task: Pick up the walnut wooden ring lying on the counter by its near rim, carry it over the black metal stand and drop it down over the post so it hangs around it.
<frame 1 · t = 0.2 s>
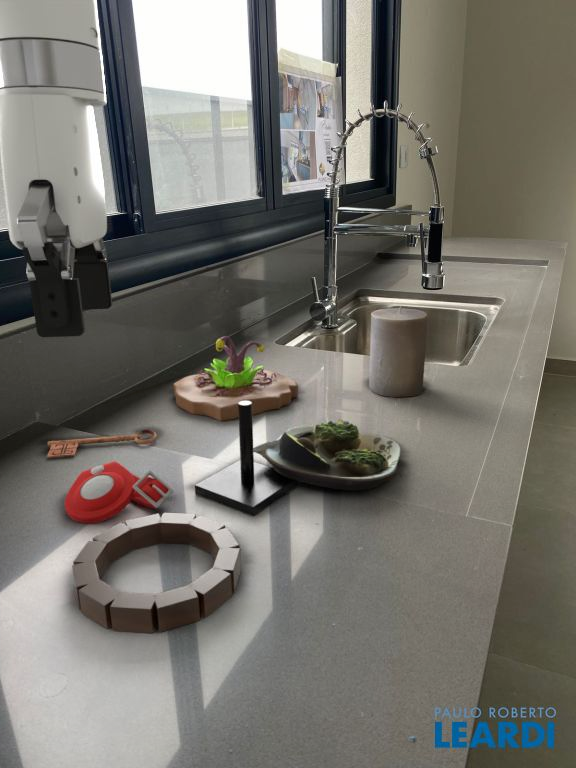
hand: (79, 320, 48), 25 cm above the counter, tool pointing down, fingers open, 9 cm apart
stand: (248, 489, 73), on the counter
ring: (160, 576, 57), on the counter
plant: (233, 398, 105), on the counter
pillar candle: (395, 389, 108), on the counter
key: (102, 446, 86), on the counter
tracker holder: (117, 508, 70), on the counter
salad plate: (330, 463, 79), point 1 cm above the counter, touching stand
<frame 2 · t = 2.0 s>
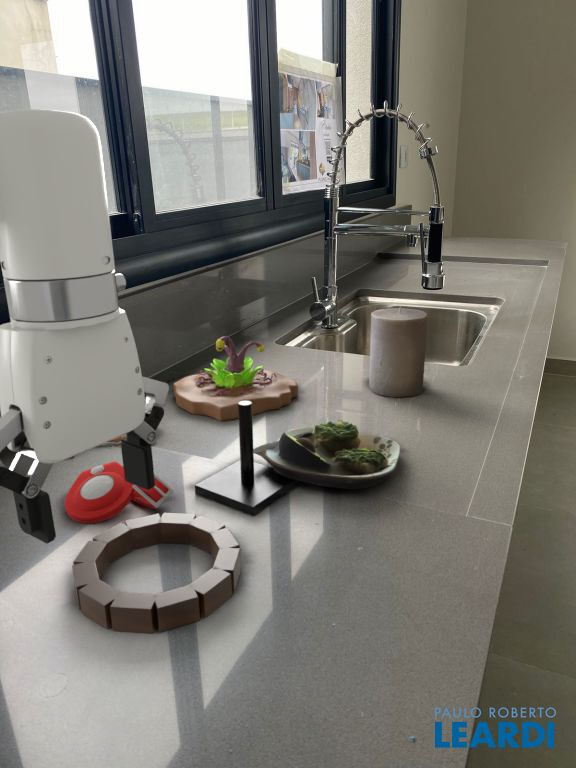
hand: (93, 508, 49), 10 cm above the counter, tool pointing down, fingers open, 9 cm apart
nothing on the counter moved.
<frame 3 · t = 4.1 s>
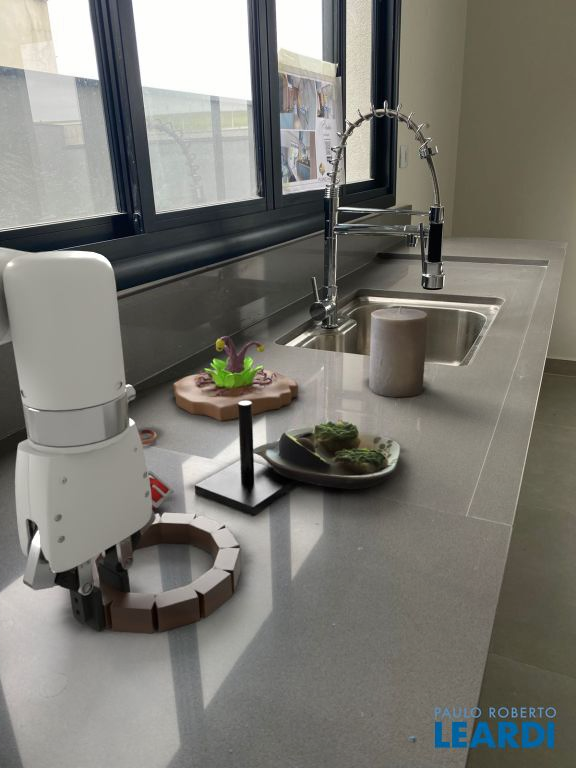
hand: (103, 613, 52), 0 cm above the counter, tool pointing down, fingers closed on ring, 2 cm apart
ring: (160, 576, 57), on the counter, touching gripper
everything else where it was.
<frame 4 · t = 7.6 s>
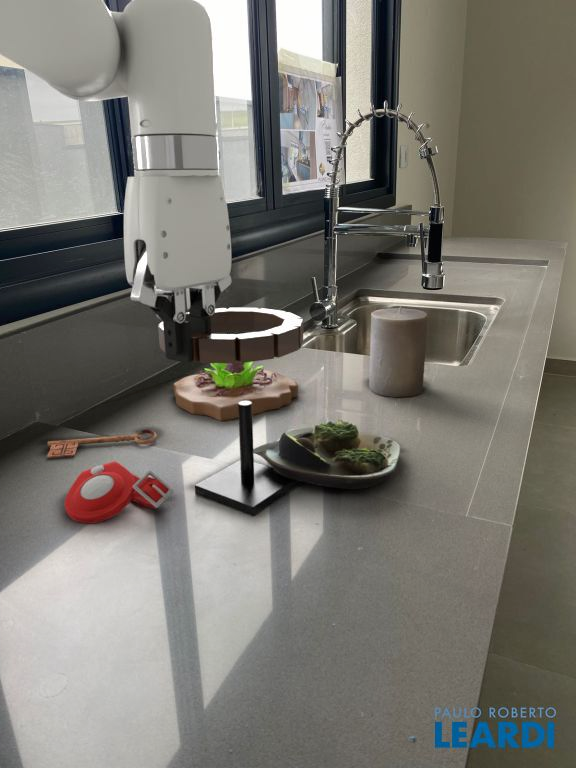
hand: (189, 355, 60), 19 cm above the counter, tool pointing down, fingers closed on ring
ring: (232, 343, 65), point 19 cm above the counter, touching gripper
everything else where it was.
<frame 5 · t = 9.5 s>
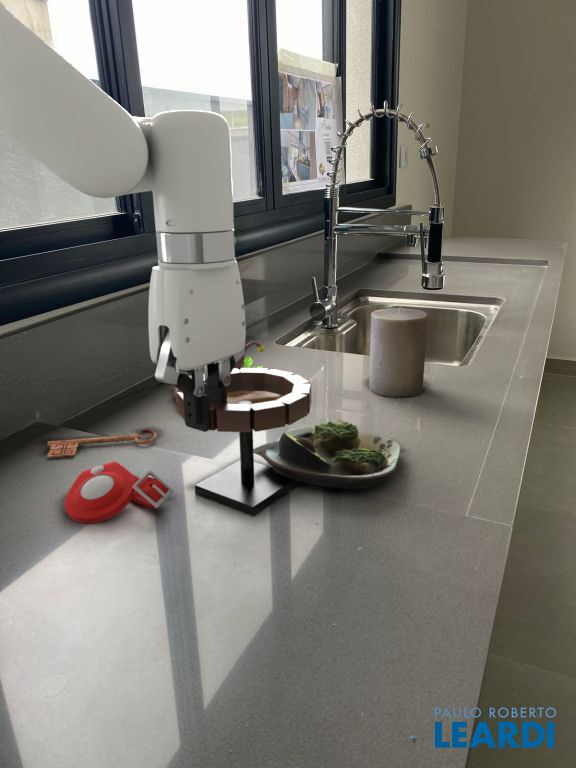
hand: (206, 423, 65), 11 cm above the counter, tool pointing down, fingers closed on ring
ring: (245, 406, 70), point 11 cm above the counter, touching gripper
everything else where it was.
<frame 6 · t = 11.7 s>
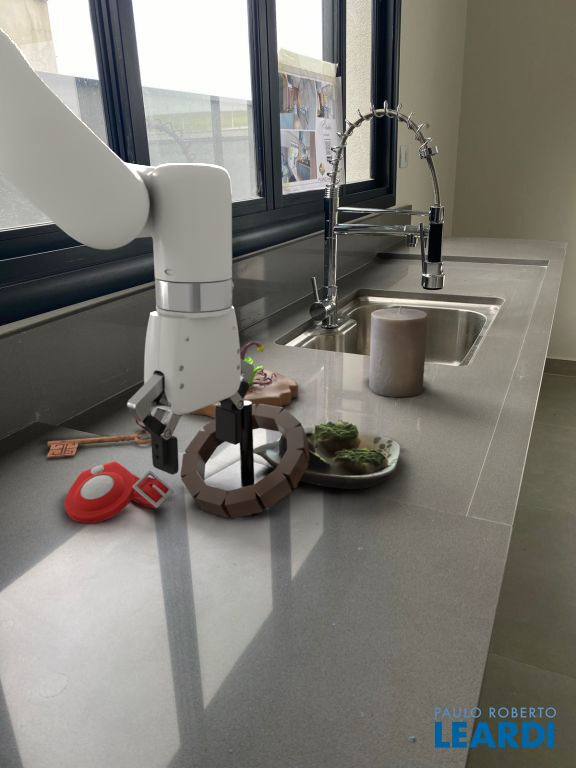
hand: (198, 454, 65), 8 cm above the counter, tool pointing down, fingers open, 9 cm apart
ring: (248, 463, 72), point 4 cm above the counter, tilted 28°, touching salad plate, stand
salad plate: (330, 463, 79), point 1 cm above the counter, touching ring, stand
everything else where it was.
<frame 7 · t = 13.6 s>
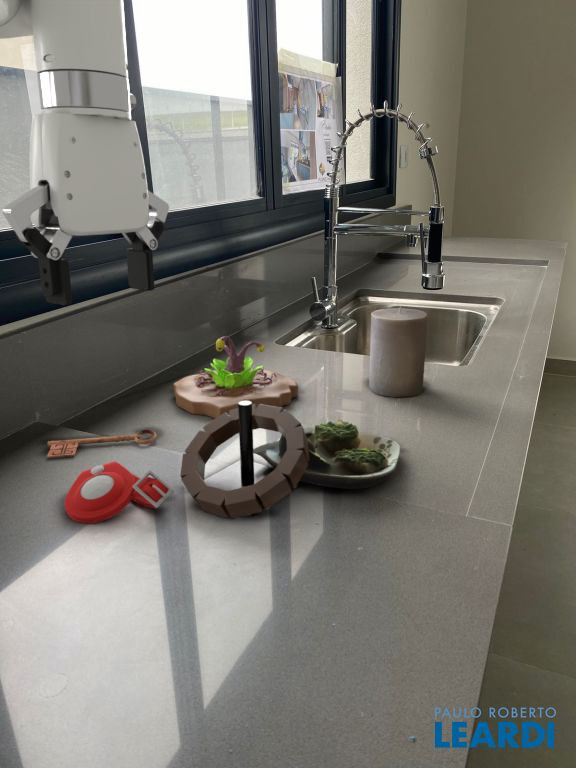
hand: (103, 295, 58), 25 cm above the counter, tool pointing down, fingers open, 9 cm apart
nothing on the counter moved.
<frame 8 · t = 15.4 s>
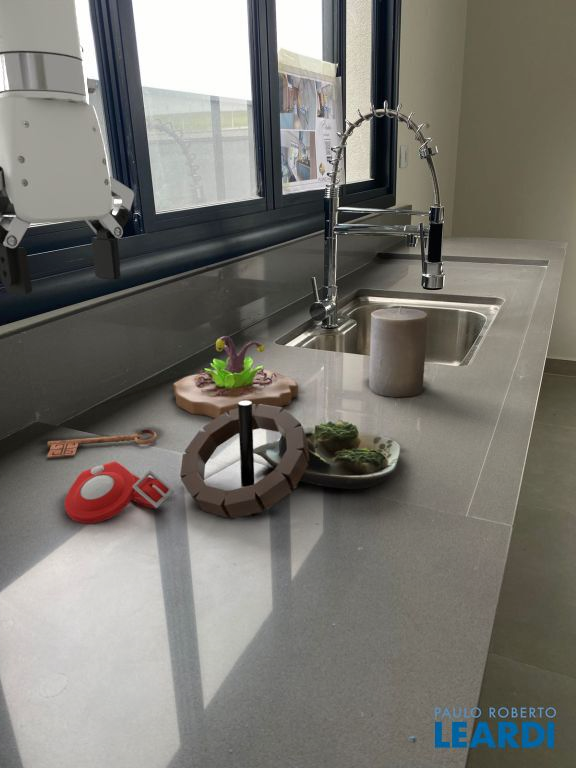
hand: (66, 285, 57), 26 cm above the counter, tool pointing down, fingers open, 9 cm apart
nothing on the counter moved.
at the end: ring 0.2 cm from the stand (horizontally); ring point 3.5 cm above the counter; the gripper is holding nothing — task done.
